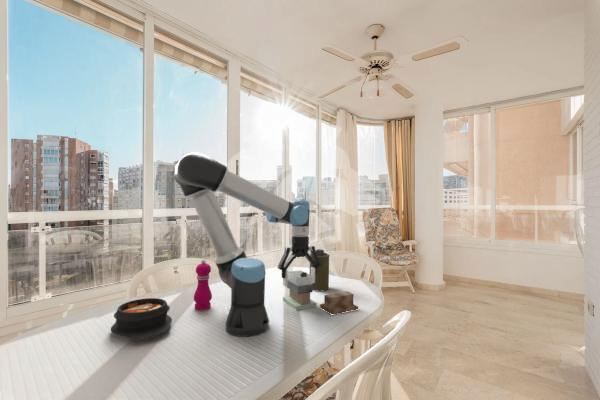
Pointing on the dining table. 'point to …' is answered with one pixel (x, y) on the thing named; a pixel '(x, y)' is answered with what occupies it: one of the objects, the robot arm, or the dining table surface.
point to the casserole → (142, 318)
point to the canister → (321, 271)
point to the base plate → (300, 288)
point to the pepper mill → (203, 287)
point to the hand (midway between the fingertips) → (299, 283)
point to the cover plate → (300, 278)
